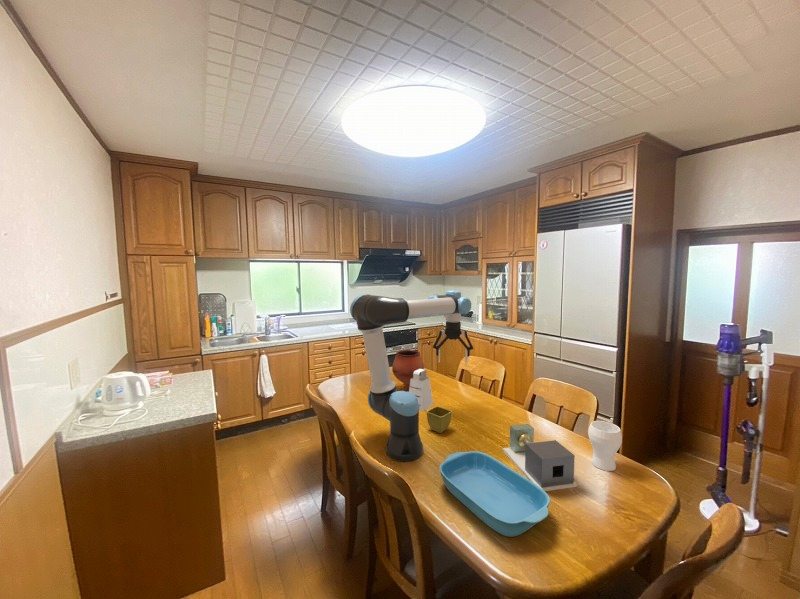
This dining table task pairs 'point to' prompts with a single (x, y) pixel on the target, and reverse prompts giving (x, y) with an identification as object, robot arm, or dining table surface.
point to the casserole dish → (495, 492)
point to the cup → (604, 444)
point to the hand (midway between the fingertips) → (452, 362)
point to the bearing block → (549, 463)
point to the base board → (519, 461)
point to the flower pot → (439, 418)
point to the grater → (425, 387)
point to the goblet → (406, 366)
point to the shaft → (521, 436)
